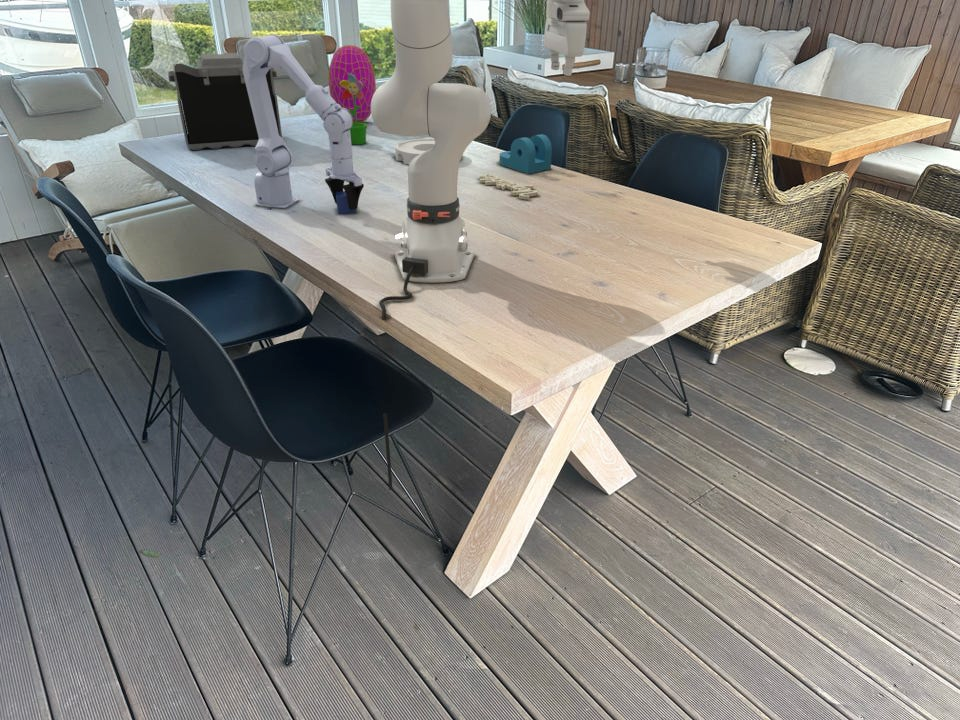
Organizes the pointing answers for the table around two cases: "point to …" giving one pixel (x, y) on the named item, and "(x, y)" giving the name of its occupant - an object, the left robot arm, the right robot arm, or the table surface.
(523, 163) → the teal clevis bracket
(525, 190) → the decorative sign
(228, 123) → the electronic device
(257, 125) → the left robot arm
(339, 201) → the block
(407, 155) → the ashtray
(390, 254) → the table surface
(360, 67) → the decorative egg
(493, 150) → the table surface
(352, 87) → the potted flower
